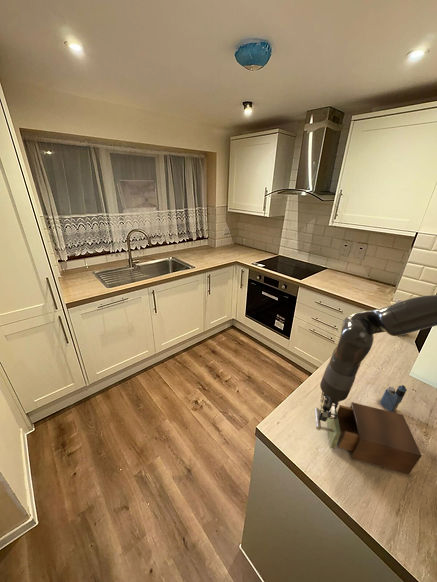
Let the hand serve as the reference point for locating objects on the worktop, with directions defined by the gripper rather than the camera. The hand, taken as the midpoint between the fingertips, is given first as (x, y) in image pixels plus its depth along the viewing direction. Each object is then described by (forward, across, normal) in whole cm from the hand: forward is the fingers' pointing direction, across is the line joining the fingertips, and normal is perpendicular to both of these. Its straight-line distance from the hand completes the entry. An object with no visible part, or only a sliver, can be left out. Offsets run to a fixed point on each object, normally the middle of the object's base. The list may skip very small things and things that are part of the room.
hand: (321, 418), depth 75 cm
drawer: (+4, 0, -7) cm, 9 cm away
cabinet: (+5, 0, -16) cm, 17 cm away
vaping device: (+5, +17, -26) cm, 31 cm away
